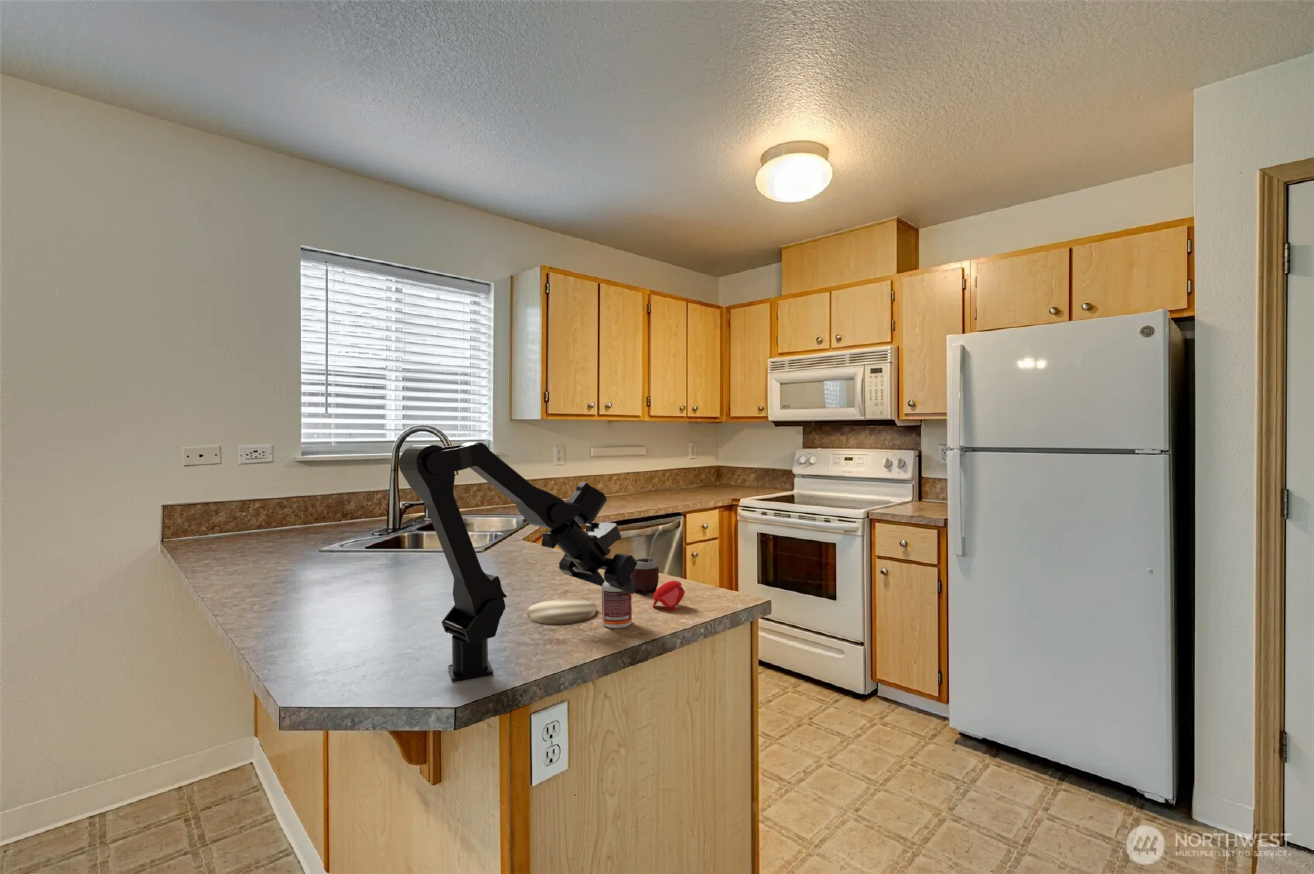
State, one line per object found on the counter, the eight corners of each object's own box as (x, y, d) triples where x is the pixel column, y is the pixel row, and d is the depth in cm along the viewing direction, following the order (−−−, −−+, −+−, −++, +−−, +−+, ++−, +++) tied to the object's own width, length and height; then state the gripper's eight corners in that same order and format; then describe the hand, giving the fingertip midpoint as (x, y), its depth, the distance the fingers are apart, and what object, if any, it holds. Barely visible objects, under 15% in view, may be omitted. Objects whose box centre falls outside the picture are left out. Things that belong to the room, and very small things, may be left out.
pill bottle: (637, 625, 122) (636, 572, 122) (611, 631, 119) (610, 576, 119) (622, 618, 127) (621, 566, 127) (597, 623, 124) (596, 570, 124)
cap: (689, 589, 138) (668, 575, 139) (688, 587, 132) (666, 572, 134) (670, 619, 136) (649, 604, 138) (668, 618, 130) (646, 602, 132)
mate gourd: (630, 596, 145) (629, 535, 145) (632, 587, 153) (631, 530, 153) (660, 595, 145) (659, 534, 145) (661, 587, 153) (660, 529, 153)
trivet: (605, 617, 128) (605, 612, 128) (537, 628, 121) (536, 622, 121) (584, 600, 141) (583, 595, 141) (521, 609, 135) (521, 604, 135)
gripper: (629, 514, 113) (669, 562, 121) (569, 507, 126) (609, 551, 134) (598, 562, 107) (643, 609, 115) (538, 550, 120) (582, 593, 128)
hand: (618, 588), depth 123 cm, fingers open, 9 cm apart
